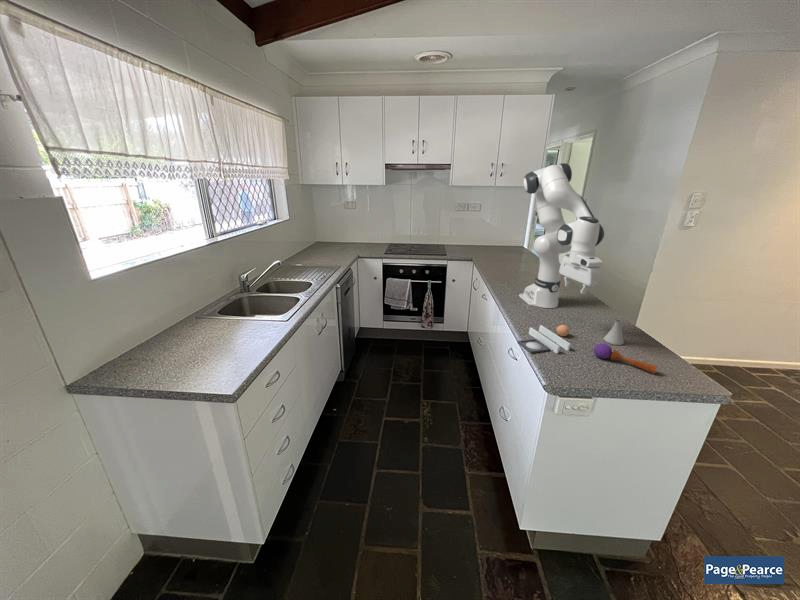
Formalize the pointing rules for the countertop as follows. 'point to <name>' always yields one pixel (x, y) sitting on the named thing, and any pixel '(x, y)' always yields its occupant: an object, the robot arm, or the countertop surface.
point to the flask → (615, 333)
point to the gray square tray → (533, 345)
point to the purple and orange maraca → (621, 357)
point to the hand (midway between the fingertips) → (574, 290)
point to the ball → (562, 330)
